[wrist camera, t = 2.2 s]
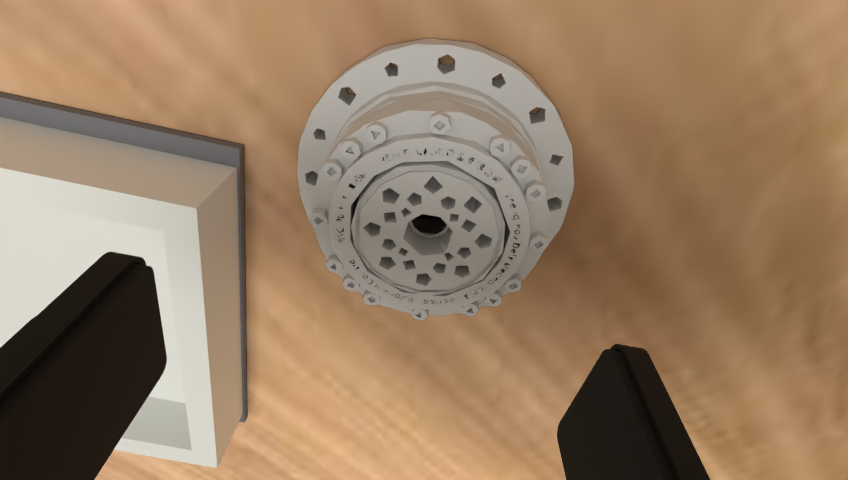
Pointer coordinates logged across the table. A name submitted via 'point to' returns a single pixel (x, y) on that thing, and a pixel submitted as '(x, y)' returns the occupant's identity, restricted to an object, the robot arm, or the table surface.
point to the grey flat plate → (149, 139)
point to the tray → (139, 236)
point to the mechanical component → (434, 177)
